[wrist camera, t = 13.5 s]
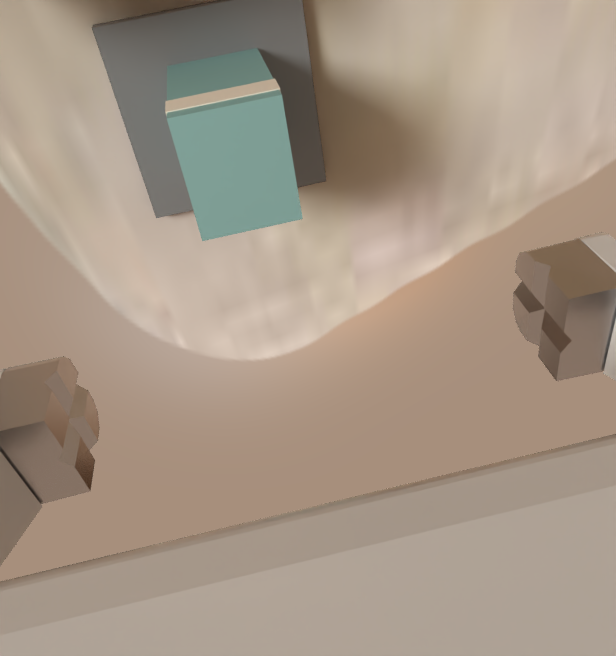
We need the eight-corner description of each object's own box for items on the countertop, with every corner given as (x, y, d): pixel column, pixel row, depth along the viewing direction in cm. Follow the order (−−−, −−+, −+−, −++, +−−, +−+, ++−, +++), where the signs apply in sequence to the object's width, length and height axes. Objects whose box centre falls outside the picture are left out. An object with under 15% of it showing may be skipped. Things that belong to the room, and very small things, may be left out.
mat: (297, -16, 32) (300, -14, 31) (323, 176, 38) (326, 181, 38) (93, 24, 31) (91, 27, 30) (156, 212, 38) (156, 218, 37)
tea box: (257, 46, 32) (282, 93, 25) (277, 153, 36) (303, 219, 29) (165, 65, 32) (165, 117, 25) (195, 170, 36) (201, 242, 29)
